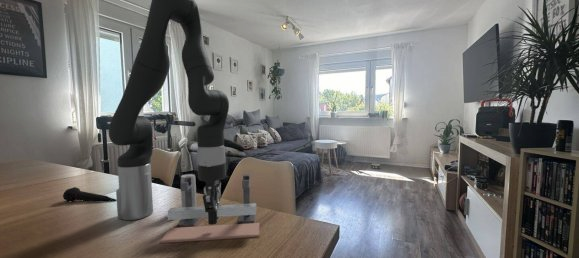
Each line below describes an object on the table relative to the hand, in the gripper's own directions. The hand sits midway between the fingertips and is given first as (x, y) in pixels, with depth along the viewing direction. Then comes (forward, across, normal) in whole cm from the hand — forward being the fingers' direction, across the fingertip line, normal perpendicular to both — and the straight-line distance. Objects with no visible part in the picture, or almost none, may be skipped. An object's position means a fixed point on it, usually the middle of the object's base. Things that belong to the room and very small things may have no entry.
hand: (213, 221), depth 69 cm
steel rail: (-2, 0, 0) cm, 2 cm away
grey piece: (+4, -19, -12) cm, 23 cm away
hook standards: (+3, -7, 0) cm, 8 cm away
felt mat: (+4, 0, 0) cm, 4 cm away
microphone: (+4, -31, -53) cm, 61 cm away
